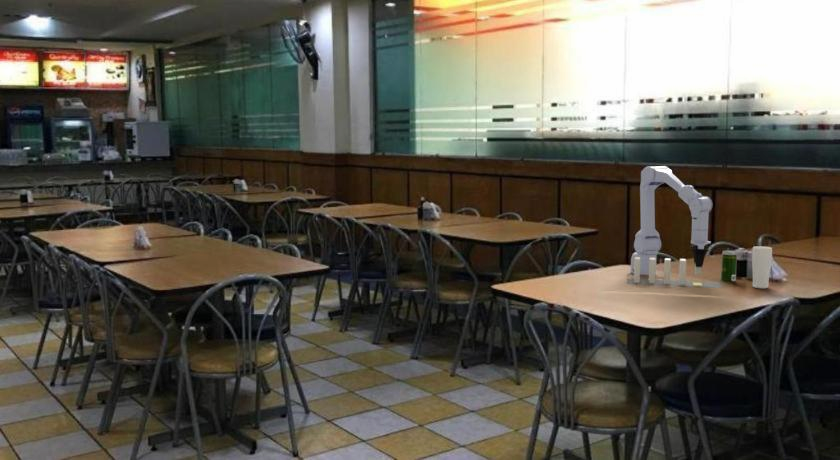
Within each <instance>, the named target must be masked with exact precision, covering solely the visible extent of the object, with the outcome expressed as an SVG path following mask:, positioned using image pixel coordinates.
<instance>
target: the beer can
mask: <svg viewBox="0 0 840 460" xmlns="http://www.w3.org/2000/svg"><path fill="white" fill-rule="evenodd" d="M737 261H738V254H737V251H736V250H730V249H729V250H728V249H727V250H722V253H721V268H720V270H721V271H720V272H721V273H720V281H723V282H730V283H731V282H736V281H737V280H736V279H737Z"/></svg>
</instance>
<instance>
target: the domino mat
mask: <svg viewBox="0 0 840 460" xmlns="http://www.w3.org/2000/svg"><path fill="white" fill-rule="evenodd" d="M626 282H627V283H626V284H627V285H643V286H668V287H669V286H670V287H689V288H690V287H692V288H693V287H694V288H713V289H714V288H715V289H722V288H723V287H722V286H721V284H720V283H719V282H715V281H713V282H712V281H694V280H693V281H691V280H686V282H685V285H680V284H679V280H672V279H670V284H664V279H655V283H649V278H648V279H645V278H642V279H641V278H640V283H634V278H626Z"/></svg>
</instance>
